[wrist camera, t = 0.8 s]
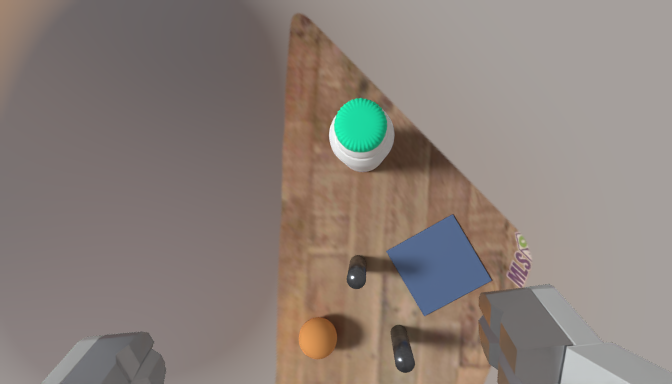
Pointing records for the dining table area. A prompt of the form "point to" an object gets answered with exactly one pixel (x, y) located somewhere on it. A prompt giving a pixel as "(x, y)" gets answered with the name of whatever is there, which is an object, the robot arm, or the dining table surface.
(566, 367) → the robot arm
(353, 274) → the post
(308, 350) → the ball
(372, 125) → the water bottle
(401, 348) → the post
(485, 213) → the dining table surface
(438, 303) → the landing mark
